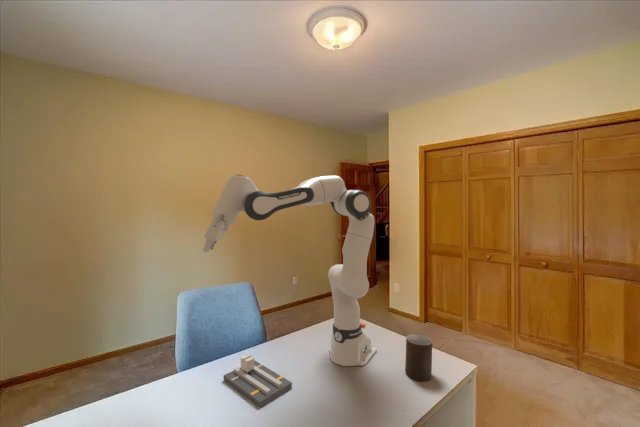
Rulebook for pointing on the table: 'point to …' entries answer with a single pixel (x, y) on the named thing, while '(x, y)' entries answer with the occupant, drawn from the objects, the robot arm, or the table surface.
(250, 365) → the fader knob
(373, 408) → the table surface
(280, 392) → the slider console
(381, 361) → the table surface
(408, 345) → the pillar candle
